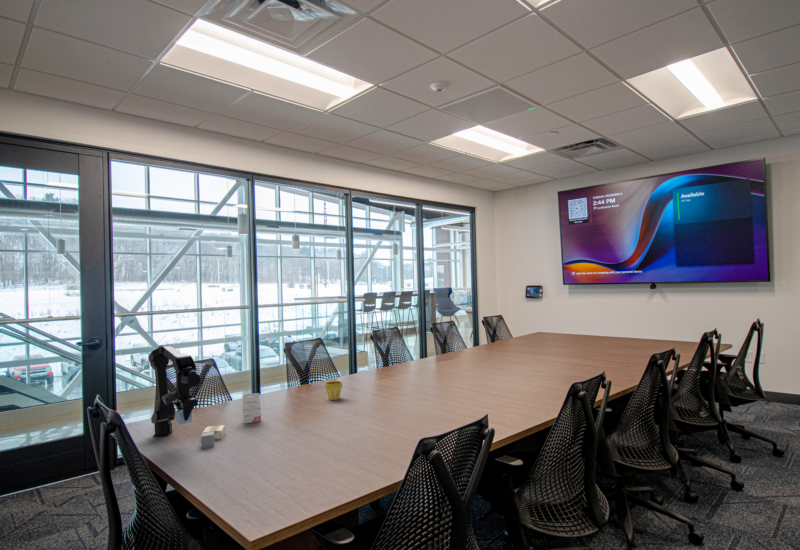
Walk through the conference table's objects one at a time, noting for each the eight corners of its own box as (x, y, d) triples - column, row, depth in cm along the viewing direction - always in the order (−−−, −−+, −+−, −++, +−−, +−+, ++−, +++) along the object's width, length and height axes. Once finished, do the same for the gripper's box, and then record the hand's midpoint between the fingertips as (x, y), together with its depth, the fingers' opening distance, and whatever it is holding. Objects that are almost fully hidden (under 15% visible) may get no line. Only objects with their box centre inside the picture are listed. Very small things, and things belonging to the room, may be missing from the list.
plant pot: (323, 397, 272) (323, 381, 273) (339, 395, 277) (339, 379, 277) (328, 401, 263) (327, 385, 263) (344, 399, 267) (344, 383, 268)
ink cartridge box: (261, 419, 233) (260, 390, 233) (260, 421, 228) (260, 392, 228) (243, 420, 230) (243, 392, 231) (243, 423, 226) (242, 394, 226)
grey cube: (201, 448, 193) (201, 436, 193) (202, 444, 198) (202, 432, 198) (213, 446, 195) (213, 434, 195) (214, 442, 200) (214, 431, 200)
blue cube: (179, 424, 195) (179, 412, 195) (176, 421, 198) (175, 410, 198) (191, 421, 198) (191, 410, 198) (188, 419, 202) (187, 408, 202)
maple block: (202, 440, 203) (202, 432, 203) (207, 435, 210) (207, 426, 210) (221, 439, 204) (221, 430, 204) (225, 433, 212) (224, 425, 212)
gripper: (157, 384, 200) (158, 419, 199) (170, 390, 186) (171, 428, 186) (183, 379, 207) (184, 413, 207) (198, 385, 194) (198, 422, 194)
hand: (184, 419), depth 198 cm, fingers closed on blue cube, 5 cm apart
